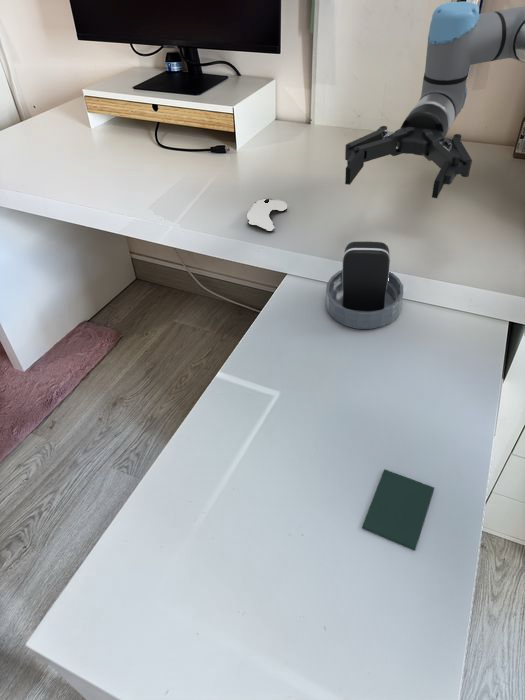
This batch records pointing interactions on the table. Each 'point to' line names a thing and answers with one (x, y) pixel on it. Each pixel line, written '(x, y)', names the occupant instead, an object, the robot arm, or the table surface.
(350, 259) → the battery charger
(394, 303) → the bowl
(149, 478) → the table surface
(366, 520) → the mat
